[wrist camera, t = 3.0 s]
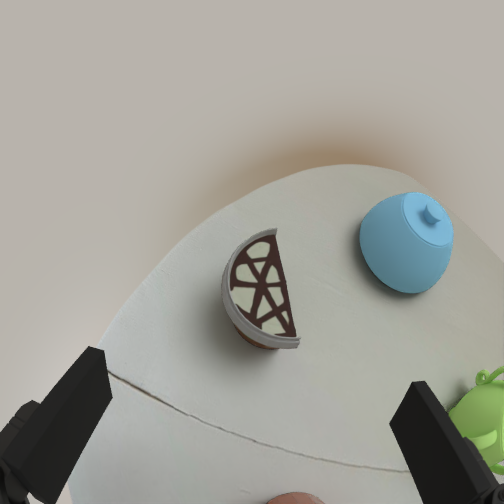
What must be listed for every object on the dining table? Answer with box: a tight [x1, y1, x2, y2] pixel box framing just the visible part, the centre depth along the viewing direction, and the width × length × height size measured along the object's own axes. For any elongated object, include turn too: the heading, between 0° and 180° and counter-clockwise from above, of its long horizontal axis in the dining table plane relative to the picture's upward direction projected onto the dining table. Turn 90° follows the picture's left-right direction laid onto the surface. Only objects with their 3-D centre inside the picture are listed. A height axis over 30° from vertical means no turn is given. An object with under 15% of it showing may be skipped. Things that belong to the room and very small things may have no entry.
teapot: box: [448, 366, 504, 475], centre depth 22 cm, size 16×14×13 cm
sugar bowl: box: [360, 192, 453, 293], centre depth 36 cm, size 15×15×12 cm
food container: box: [221, 228, 301, 349], centre depth 31 cm, size 12×6×10 cm, turn 8°
